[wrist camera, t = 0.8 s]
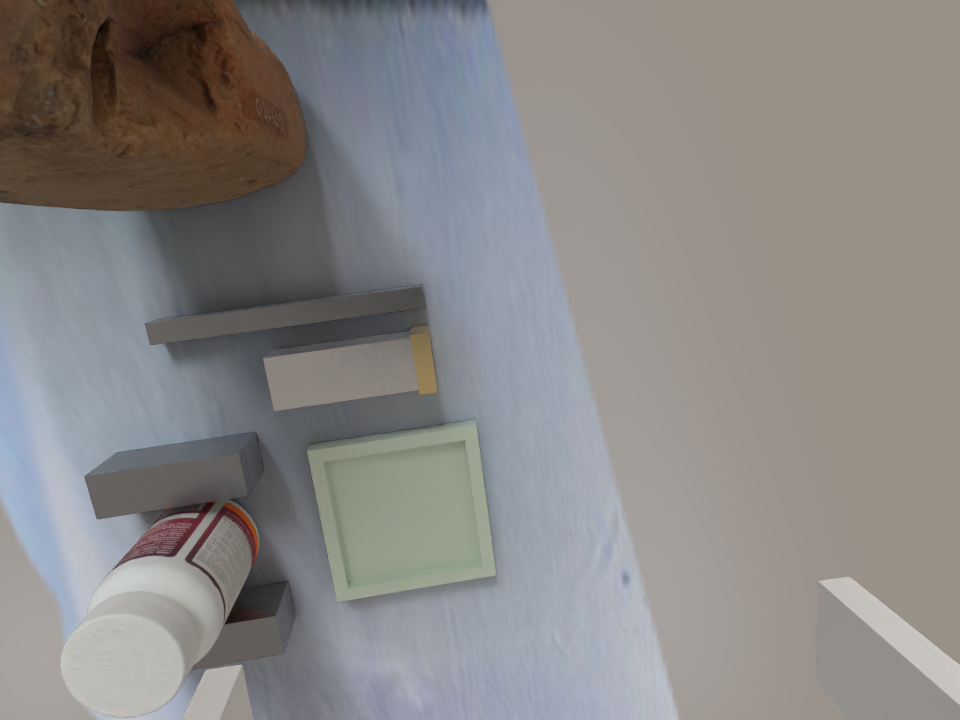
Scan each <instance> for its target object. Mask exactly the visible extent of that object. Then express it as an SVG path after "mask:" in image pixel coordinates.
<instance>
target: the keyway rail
mask: <svg viewBox="0 0 960 720" xmlns="http://www.w3.org/2000/svg"><path fill="white" fill-rule="evenodd" d="M420 308H425V301H424V294H423V287H422V284H419V285H412V286H404V287H397V288H389V289H382V290H374V291H367V292H359V293H352V294H344V295H337V296H329V297H322V298H314V299H307V300H300V301H292V302H285V303H277V304H270V305H262V306H255V307H247V308H240V309H232V310H225V311H217V312H210V313H202V314H195V315H187V316H180V317H172V318H165V319H157V320H154V321H151V322H148V323H145V326H146V330H147V334H148V338H149V342H150V345H156V344H163V343H171V342H178V341H185V340H193V339H200V338H207V337H215V336H222V335H229V334H237V333H244V332H251V331H259V330H266V329H273V328H280V327H288V326H295V325H302V324H310V323H317V322H324V321H332V320H339V319H346V318H354V317H361V316H368V315H376V314H383V313H390V312H398V311H405V310H412V309H420Z"/></svg>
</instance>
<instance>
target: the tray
mask: <svg viewBox="0 0 960 720" xmlns="http://www.w3.org/2000/svg"><path fill="white" fill-rule="evenodd" d="M307 454H308V459H309V464H310V469H311V474H312V479H313V484H314V489H315V494H316V499H317V504H318V509H319V514H320V519H321V524H322V529H323V534H324V539H325V544H326V549H327V554H328V559H329V564H330V569H331V574H332V579H333V584H334V589H335V594H336V599H337V602H342V601H348V600H354V599H360V598H366V597H371V596H377V595H383V594H389V593H395V592H401V591H407V590H413V589H419V588H425V587H431V586H437V585H443V584H448V583H454V582H460V581H466V580H472V579H478V578H484V577H490V576H496V568H495V561H494V553H493V546H492V538H491V531H490V523H489V515H488V508H487V500H486V493H485V485H484V478H483V470H482V462H481V455H480V447H479V440H478V432H477V425H476V422H475V420H468V421H461V422H455V423H448V424H441V425H435V426H428V427H421V428H415V429H408V430H401V431H395V432H388V433H381V434H375V435H368V436H361V437H355V438H348V439H341V440H335V441H328V442H321V443H315V444H310V446H309V448H308V450H307Z"/></svg>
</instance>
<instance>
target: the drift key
mask: <svg viewBox="0 0 960 720" xmlns="http://www.w3.org/2000/svg"><path fill="white" fill-rule="evenodd" d="M263 361H264V366H265V371H266V375H267V380H268V385H269V390H270V395H271V399H272V404H273V409H274V411H280V410H287V409H294V408H300V407H307V406H314V405H321V404H328V403H335V402H341V401H348V400H355V399H362V398H369V397H376V396H383V395H389V394H396V393H403V392H410V391H417V390H419V395H423V394H430V393H437V384H436V376H435V369H434V363H433V356H432V349H431V342H430V335H429V328H428V325H423V326H415V327H411V331H404V332H397V333H389V334H382V335H375V336H368V337H361V338H353V339H346V340H339V341H332V342H325V343H317V344H310V345H303V346H296V347H289V348H281V349H274V350H273V351H271V352H270V353H269V354H268V355H267V356H265V357H264V358H263Z"/></svg>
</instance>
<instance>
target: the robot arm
mask: <svg viewBox="0 0 960 720" xmlns="http://www.w3.org/2000/svg"><path fill="white" fill-rule="evenodd" d="M814 682H815V684H816V685H817V686H818V687H819V688H820V689H821V690H822V692H823V693H824V694H825V695H826V696H827V697H828V698H829V699H830V701H831V702H832V703H833V704H834V705H835V706H836V708H837V709H838V710H839V711H840V712H841V713H842V714H843V716H844V717H845V718H846V719H847V720H960V665H959V664H957V663H956V662H955V661H954V660H952V659H951V658H950V657H949V656H947V655H946V654H945V653H944V652H942V651H941V650H940V649H939V648H937V647H936V646H935V645H934V644H933V643H931V642H930V641H929V640H928V639H926V638H925V637H924V636H923V635H921V634H920V633H919V632H917V631H916V630H915V629H914V628H912V627H911V626H910V625H909V624H908V623H906V622H905V621H904V620H903V619H901V618H900V617H899V616H898V615H896V614H895V613H894V612H893V611H891V610H890V609H889V608H887V607H886V606H885V605H884V604H883V603H881V602H880V601H879V600H878V599H876V598H875V597H874V596H873V595H871V594H870V593H869V592H868V591H866V590H865V589H864V588H863V587H861V586H860V585H859V584H858V583H857V582H855V581H854V580H853V579H852V578H850V577H843V578H836V579H830V580H822V581H818V600H817V626H816V655H815V681H814ZM182 720H254V719H253V714H252V710H251V705H250V700H249V695H248V690H247V685H246V680H245V675H244V670H243V666H242V664H241V665H234V666H227V667H220V668H213V669H206V670H205V672H204V674H203V677H202V679H201V681H200V683H199V685H198V687H197V689H196V691H195V693H194V695H193V697H192V699H191V701H190V703H189V705H188V707H187V709H186V711H185V713H184V715H183V717H182Z"/></svg>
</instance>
